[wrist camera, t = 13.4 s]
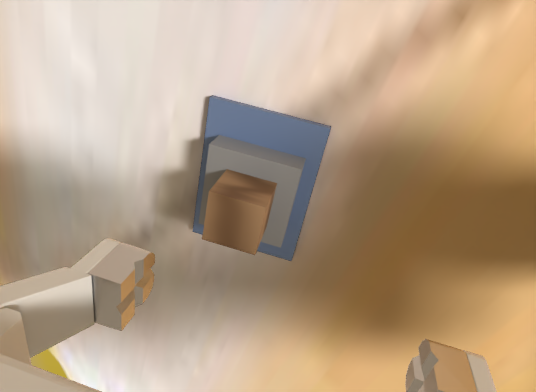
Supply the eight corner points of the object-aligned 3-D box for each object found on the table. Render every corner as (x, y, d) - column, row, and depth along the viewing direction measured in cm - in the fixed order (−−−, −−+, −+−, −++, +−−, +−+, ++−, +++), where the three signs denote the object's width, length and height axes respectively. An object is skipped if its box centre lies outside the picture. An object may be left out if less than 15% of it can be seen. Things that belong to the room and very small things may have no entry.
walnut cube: (277, 183, 35) (266, 207, 31) (266, 226, 37) (254, 255, 33) (227, 169, 36) (208, 191, 31) (219, 212, 38) (202, 239, 33)
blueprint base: (331, 126, 35) (328, 138, 32) (292, 257, 43) (287, 277, 40) (212, 95, 37) (198, 103, 33) (195, 228, 44) (182, 245, 41)
